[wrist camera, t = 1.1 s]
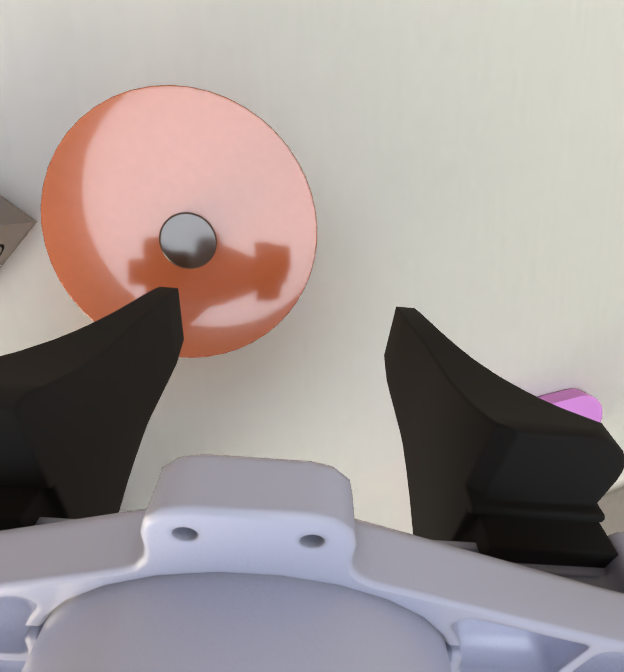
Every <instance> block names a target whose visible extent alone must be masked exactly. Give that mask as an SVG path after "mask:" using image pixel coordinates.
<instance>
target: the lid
mask: <svg viewBox="0 0 624 672" xmlns="http://www.w3.org/2000/svg"><path fill="white" fill-rule="evenodd" d="M41 225H42V231H43V236H44V242H45V246H46V249H47V252H48V255H49V258H50V261H51V264H52V266H53V268H54V270H55V272H56V274H57V276H58V278H59V280H60V282H61V283H62V285H63V286H64V288H65V289H66V291H67V292H68V294H69V296H70V297H71V298H72V299H73V300H74V302H75V303H76V304H77V305H78V306H79V308H80V309H81V310H82V311H83V312H84V313H85V314H86V315H87V316H88V317H90V318H91V319H92V320H93V321H94V322H95V321H97V320H99V319H101V318H103V317H105V316H107V315H109V314H111V313H113V312H115V311H116V310H118V309H120V308H122V307H123V306H125V305H127V304H129V303H130V302H132V301H134V300H136V299H137V298H139V297H141V296H142V295H144V294H146V293H148V292H149V291H151V290H153V289H155V288H157V287H171V288H178V290H179V299H180V308H181V317H182V326H183V334H184V341H183V345H182V348H181V351H180V355H179V357H187V358H195V357H208V356H214V355H219V354H224V353H227V352H230V351H233V350H236V349H239V348H241V347H243V346H246V345H248V344H250V343H252V342H254V341H255V340H257V339H259V338H260V337H262V336H264V335H265V334H266V333H268V332H269V331H270V330H271V329H273V328H274V327H275V326H276V325H278V324H279V322H280V321H281V320H282V319H283V318H284V317H285V316H286V315H287V314H288V313H289V312H290V310H291V309H292V308H293V306H294V305H295V304H296V302H297V301H298V299H299V297H300V295H301V294H302V292H303V290H304V288H305V286H306V283H307V281H308V279H309V276H310V273H311V270H312V266H313V263H314V259H315V252H316V245H317V222H316V212H315V207H314V202H313V198H312V194H311V191H310V188H309V185H308V182H307V180H306V177H305V175H304V173H303V171H302V169H301V167H300V165H299V163H298V161H297V160H296V158H295V157H294V155H293V153H292V152H291V150H290V149H289V147H288V146H287V145H286V144H285V142H284V141H283V140H282V139H281V138H280V137H279V135H278V134H277V133H276V132H275V131H274V130H273V129H272V128H271V127H270V126H269V125H267V124H266V123H265V122H264V121H263V120H262V119H261V118H259V117H258V116H257V115H255V114H254V113H252V112H251V111H250V110H248V109H247V108H245V107H243V106H242V105H240V104H238V103H236V102H234V101H232V100H230V99H228V98H226V97H223V96H221V95H218V94H215V93H213V92H210V91H206V90H202V89H198V88H193V87H187V86H176V85H161V86H148V87H143V88H138V89H134V90H130V91H127V92H124V93H122V94H119V95H116V96H113V97H111V98H109V99H108V100H106V101H104V102H102V103H101V104H99V105H97V106H95V107H94V108H93V109H91V110H90V111H89V112H88V113H86V114H85V115H84V116H83V117H81V118H80V119H79V120H78V121H77V122H76V123H75V124H74V126H73V127H72V128H71V129H70V130H69V131H68V132H67V133H66V135H65V136H64V138H63V139H62V141H61V142H60V144H59V145H58V147H57V149H56V150H55V153H54V155H53V157H52V159H51V162H50V164H49V166H48V169H47V173H46V176H45V180H44V184H43V189H42V199H41Z"/></svg>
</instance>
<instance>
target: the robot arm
mask: <svg viewBox="0 0 624 672" xmlns="http://www.w3.org/2000/svg"><path fill="white" fill-rule="evenodd" d="M183 341H184V334H183V326H182V317H181V308H180V299H179V290H178V288H171V287H157V288H155V289H153V290H151V291H149V292H148V293H146V294H144V295H142V296H141V297H139V298H137V299H136V300H134V301H132V302H130V303H129V304H127V305H125V306H123V307H122V308H120V309H118V310H116V311H115V312H113V313H111V314H109V315H107V316H105V317H103V318H101V319H99V320H97V321H95V322H93V323H92V324H90V325H87V326H85V327H83V328H81V329H79V330H77V331H74V332H72V333H69V334H67V335H64V336H62V337H59V338H57V339H54V340H52V341H49V342H46V343H43V344H40V345H36V346H33V347H30V348H27V349H24V350H21V351H18V352H15V353H11V354H7V355H3V356H0V672H624V532H617V533H613V534H610V535H609V536H607V535H606V533H605V531H604V530H603V528H602V526H601V525H600V523H599V522H602V521H603V520H604V519H605V516H604V513H603V512H602V510H601V509H600V507H599V506H598V504H597V502H598V501H599V500H600V499H601V498H602V497H603V495H604V494H605V493H606V492H607V491H608V490H609V489H610V487H611V486H612V485H613V484H614V483H615V482H616V480H617V479H618V477H619V476H620V474H621V473H622V471H623V469H624V453H623V451H622V449H621V448H620V447H619V445H618V444H617V443H616V441H615V440H614V439H613V438H612V436H611V435H610V434H609V432H608V431H607V430H606V428H605V427H604V426H603V425H602V423H600V422H597V421H595V420H592V419H589V418H587V417H584V416H581V415H579V414H576V413H573V412H571V411H568V410H566V409H563V408H561V407H558V406H556V405H554V404H552V403H549V402H547V401H545V400H543V399H541V398H538V397H536V396H534V395H532V394H530V393H528V392H526V391H524V390H522V389H521V388H519V387H517V386H515V385H513V384H512V383H510V382H508V381H506V380H504V379H503V378H501V377H499V376H498V375H496V374H495V373H493V372H492V371H490V370H489V369H487V368H486V367H484V366H483V365H481V364H480V363H478V362H477V361H475V360H474V359H473V358H471V357H470V356H469V355H468V354H466V353H465V352H464V351H462V350H461V349H460V348H459V347H457V346H456V345H455V344H454V343H453V342H452V341H450V340H449V339H448V338H447V337H446V336H445V335H444V334H442V333H441V332H440V331H439V330H438V329H437V328H436V327H435V326H434V325H433V324H432V323H431V322H429V321H428V320H427V319H426V318H425V317H424V316H423V315H422V314H421V313H420V312H418V311H417V310H416V309H415V308H406V307H396V310H395V314H394V318H393V322H392V326H391V330H390V334H389V338H388V342H387V346H386V350H385V354H384V358H385V369H386V377H387V383H388V387H389V391H390V395H391V399H392V402H393V406H394V410H395V414H396V418H397V422H398V425H399V429H400V433H401V438H402V443H403V449H404V456H405V463H406V470H407V479H408V487H409V496H410V505H411V516H412V526H413V535H412V534H408V533H405V532H401V531H398V530H394V529H391V528H387V527H383V526H380V525H376V524H373V523H369V522H366V521H362V520H358V519H355V518H354V508H353V496H352V490H351V484H350V480H349V479H348V478H347V477H345V476H344V475H343V474H342V473H340V472H339V471H338V470H337V469H335V468H334V467H332V466H329V465H324V464H320V463H316V462H312V461H301V460H286V459H271V458H256V457H241V456H226V455H211V454H200V455H191V456H182V457H178V458H177V459H175V460H174V461H172V462H170V463H169V464H167V465H166V466H164V467H163V468H162V470H161V472H160V475H159V478H158V480H157V483H156V486H155V488H154V491H153V494H152V496H151V499H150V502H149V504H148V507H147V509H140V510H134V511H127V512H120V513H119V510H120V506H121V503H122V499H123V496H124V493H125V489H126V486H127V483H128V479H129V476H130V473H131V470H132V467H133V464H134V461H135V458H136V455H137V452H138V449H139V446H140V443H141V440H142V438H143V435H144V432H145V429H146V426H147V424H148V422H149V420H150V417H151V415H152V413H153V411H154V409H155V407H156V405H157V403H158V401H159V399H160V397H161V395H162V393H163V391H164V389H165V387H166V385H167V383H168V381H169V378H170V376H171V374H172V372H173V370H174V368H175V366H176V364H177V361H178V358H179V355H180V351H181V348H182V345H183Z"/></svg>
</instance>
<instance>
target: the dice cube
mask: <svg viewBox="0 0 624 672" xmlns="http://www.w3.org/2000/svg"><path fill="white" fill-rule="evenodd" d="M36 222H37V221H35V220H34V219H33V218H31V217H30V216H28V215H27V214H26V213H24V212H23V211H21V210H20V209H19V208H17V207H16V206H14V205H13V204H12V203H10V202H9V201H7V200H6V199H5V198H3V197H2V196H1V195H0V267H1V266H2V265H3V264H4V262H5V261H6V260H7V259H8V257H9V256H10V255H11V253H12V252H13V251H14V250H15V248H16V247H17V246H18V245H19V243H20V242H21V241H22V240H23V238H24V237H25V236H26V235H27V233H28V232H29V231H30V230H31V228H32V227H33V226H34V225H35V223H36Z"/></svg>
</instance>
